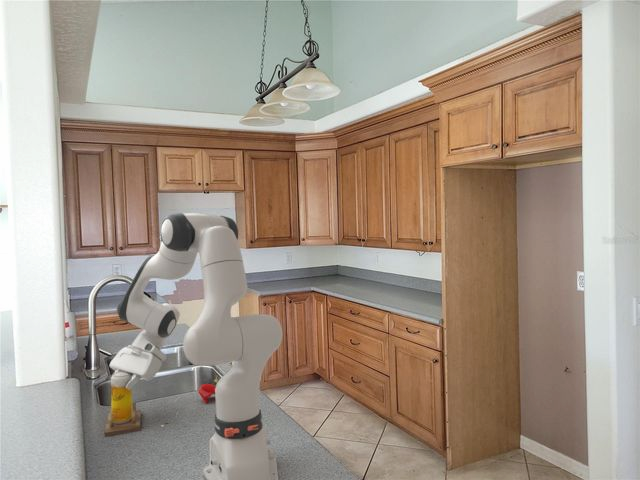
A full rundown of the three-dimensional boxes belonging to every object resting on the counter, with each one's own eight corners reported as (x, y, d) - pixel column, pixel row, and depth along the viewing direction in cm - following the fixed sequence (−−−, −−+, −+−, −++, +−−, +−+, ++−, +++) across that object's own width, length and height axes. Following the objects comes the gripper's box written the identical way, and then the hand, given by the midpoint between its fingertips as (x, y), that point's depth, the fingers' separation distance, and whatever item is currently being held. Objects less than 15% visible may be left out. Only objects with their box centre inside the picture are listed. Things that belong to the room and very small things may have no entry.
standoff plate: (140, 430, 146) (139, 413, 146) (104, 436, 143) (103, 419, 143) (140, 413, 160) (139, 398, 159) (108, 418, 156) (107, 403, 156)
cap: (199, 397, 164) (214, 386, 165) (194, 386, 168) (208, 376, 170) (210, 409, 168) (224, 399, 170) (205, 399, 173) (219, 389, 174)
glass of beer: (108, 420, 151) (108, 373, 151) (127, 415, 155) (127, 369, 155) (115, 426, 147) (115, 377, 146) (135, 420, 151) (134, 373, 151)
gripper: (120, 339, 162) (94, 376, 154) (157, 347, 150) (131, 387, 143) (133, 349, 166) (108, 385, 158) (170, 357, 154) (145, 397, 146)
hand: (119, 386), depth 150 cm, fingers closed on glass of beer, 6 cm apart
